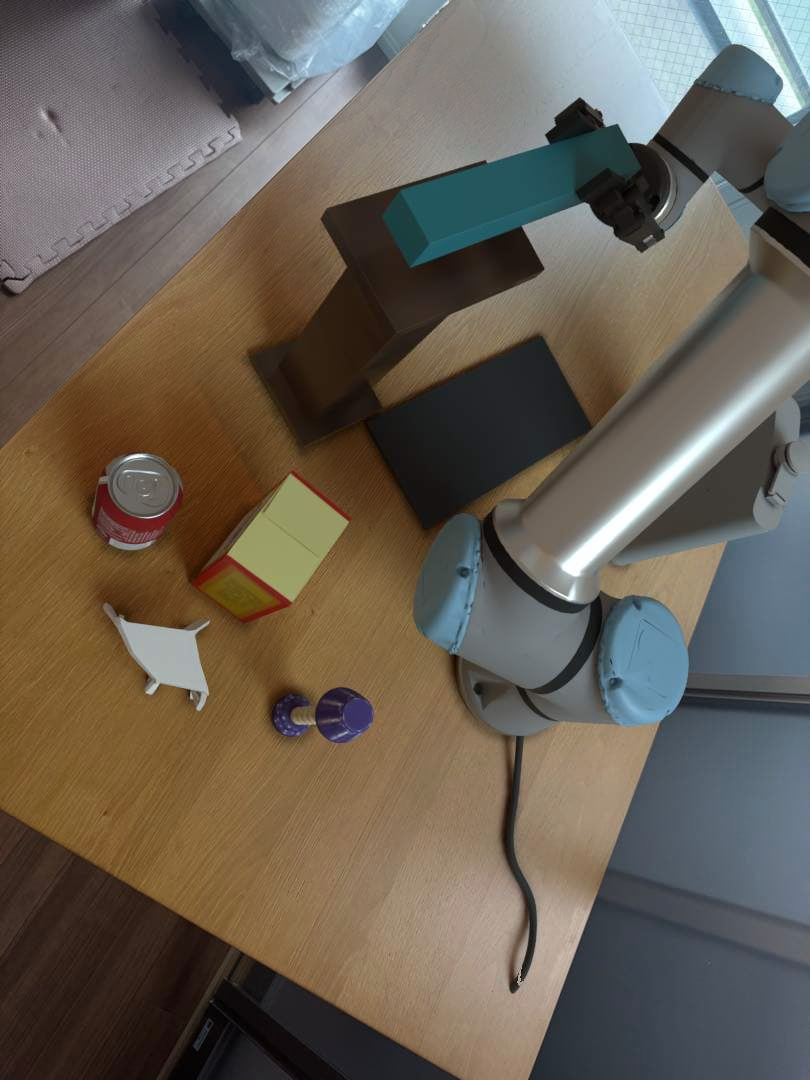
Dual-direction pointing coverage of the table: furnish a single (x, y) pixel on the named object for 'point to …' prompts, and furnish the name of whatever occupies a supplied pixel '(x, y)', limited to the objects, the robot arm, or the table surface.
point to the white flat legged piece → (165, 654)
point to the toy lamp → (324, 715)
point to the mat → (478, 430)
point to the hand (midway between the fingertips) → (578, 155)
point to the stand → (379, 314)
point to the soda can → (136, 500)
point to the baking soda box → (272, 550)
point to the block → (502, 194)
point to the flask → (731, 493)
